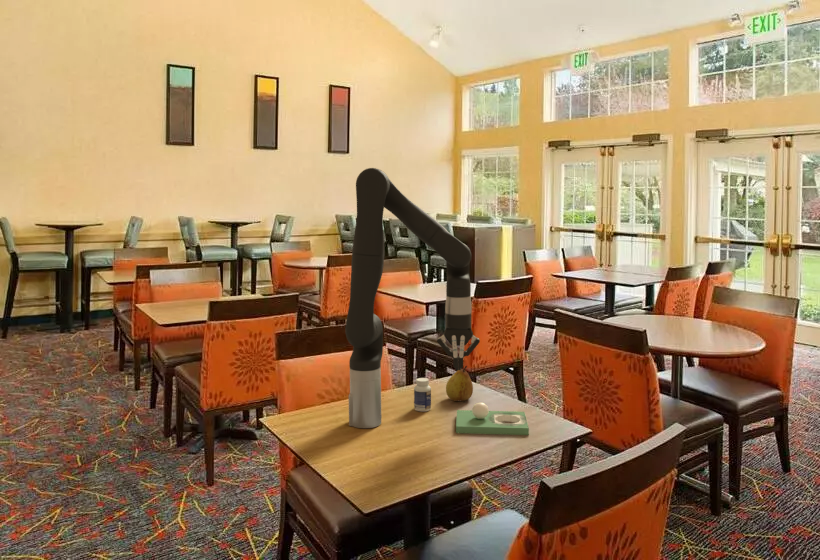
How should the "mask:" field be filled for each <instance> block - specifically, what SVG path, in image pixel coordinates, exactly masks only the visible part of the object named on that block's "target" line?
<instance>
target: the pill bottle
mask: <svg viewBox="0 0 820 560" xmlns="http://www.w3.org/2000/svg"><path fill="white" fill-rule="evenodd" d="M429 381H430V380H429V378H426V377H418V378H416V380H415V384H416V385H414V388H413V389H414V390H413V399H414V400H413V403H414V404H413V406H414V411H416V412H423V413H425V412H428V411H429V412H430V410H432V387H431V386H430V385H429V384H430V382H429Z"/></svg>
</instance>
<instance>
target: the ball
mask: <svg viewBox="0 0 820 560" xmlns="http://www.w3.org/2000/svg"><path fill="white" fill-rule="evenodd" d="M488 407H489V406H488V405H487V404H485V403H484V402H482V401H481V402H476V403H475V404H474V405H473V406H472V409H471V410H472V413H473V415H474V416H475V417H476V418H478V419H483V418H485V417H486V416H487V415H488V412H489V411H490V410H489V408H488Z"/></svg>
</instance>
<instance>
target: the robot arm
mask: <svg viewBox="0 0 820 560" xmlns="http://www.w3.org/2000/svg"><path fill="white" fill-rule="evenodd" d="M355 180H356V182H355V192H356V194H355V195H356V222H355V226H354V232H353V234H354V235H353V241H352V252H351V264H350V265H351V267H350V268H351V271H350V272H351V273H350V291H349V293H350V294H349V303H348V309H347V317H346V321H345V328H344V330H345V337H346V340H347V342H348V343H349V344H350V345H351V346H353V347H352V352H351V356H350V357H349V361H348V363H349V365H348V366H349V394H348V425H349V427H353V428H357V429H372V428H377V427H378V426H380V425H381V424H382V374H381V373H382V371H381V369H382V368H381V367H382V365H381V364H382V363H381V362H382V357H383V351H384V350H383V348H384V327H383V322H382V320H381V319H380V317H379V316H378V315H376V314H375V313H374V309H375V306H374V305H375V301H376V297H377V292H378V289H379V286H380V283H381V279H382V276H383V272H384V266H385V265H384V262H385V233H384V226H383V225H384V224H383V223H384V222H383V219H384V218H383V217H384V210H385V209H386V210H387V211H389V212H390V213H391V214H393V215H394V216H395V217H396V218H397V220H399V221H400V222H401V223H402V224H403V226H405V227H406V228H407V229H408V230H409V231H410V232H411V233H412V234H413V235H414V236H416V237H417V238H418V239H419V240H420V241H421V242H423V243H424V244H425V245H427V246H428V247H429V248H431V249H433V250H434V251H435V252H436V253H437V254H438V256H440V257H441V258H442V259H443V260H444V261H445V262H446V263H445V264H446V284H445V286H446V287H445V288H446V289H445V294H446V296H445V307H444V308H445V330H444V332H443V334H442V335H441V336H439V337H437V339H436V341H437V344H438V345H439V346H440V347H441V348H442V350H443V351H444V353H446V354H447V356H448V357H449V356H450V357H452V358H453V360H452V361H453V363H452V364H453V366H452V367H453V369H455V371H458V370H461V369H464V358H465V357H470V355H471V354H472V352H473V351H474V350H475V348H477V346H478V345H479V343H480V338H479V337H476V336H475V335H474V332H473V329H472V310H473V309H472V299H471V298H472V297H471V295H472V294H471V293H472V292H471V288H472V287H471V284H472V283H471V279H470V278H471V277H470V262H471V261H472V252H471V251H472V250H471V249H470V247H468V245H466V244H465V243H463V242H462V241H461V240H459V239H458V238H457V237H455V236H454V235H453V234H452V233H450V232H449V231H448V229H446V228H445V227H444V226H443V225H442V223H440V222H438V221H437V219H435V218H434V217H432V216H431V215H430V214H429V213H427V212H426V211H424V210H423V208H421V207H419V206H418V205H417V204H415V203H414V202H413V201H412V200H411V199H409V198H408V197H407V196H406V195H405V194H403V193H402V191H400V189H398V187H397V186H396V185H395V184H394V183H393V181H391V179H390V177H389V176H388V175H387V174H386V173H385V172H384V171H383V170H381V169H379V168H377V167H369V168H365V169H364V170H362V171H361V172H360V173H359V174H358V176H357V178H356V179H355ZM446 340H447V341H448V343H449V345H451V347H452V350H451V348H450V347H449V346H448V345H447V343H446V342H447V341H446ZM470 341H471V342H470ZM469 342H470V343H471V344H469ZM468 344H469V346H468V348H466V350H465V346H467V345H468ZM458 346H459V352H458Z"/></svg>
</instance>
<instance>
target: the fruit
mask: <svg viewBox="0 0 820 560" xmlns="http://www.w3.org/2000/svg"><path fill="white" fill-rule="evenodd" d="M467 367H468V365H465V367H463V368H461V370H456V372H454V373H453V375H451V376H450V378H449V379H448V381H447V382H446V384H445V385H446V386H445V393H446V395H447V397H448V399H449V400H450V401H454V402H463V401H468V400H470V399H471V398H472V396H473V393H474V392H473V391H474V384H473V382H472V379H471V377H470V374H469V373H468V372H467V370H466V369H467Z"/></svg>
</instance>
